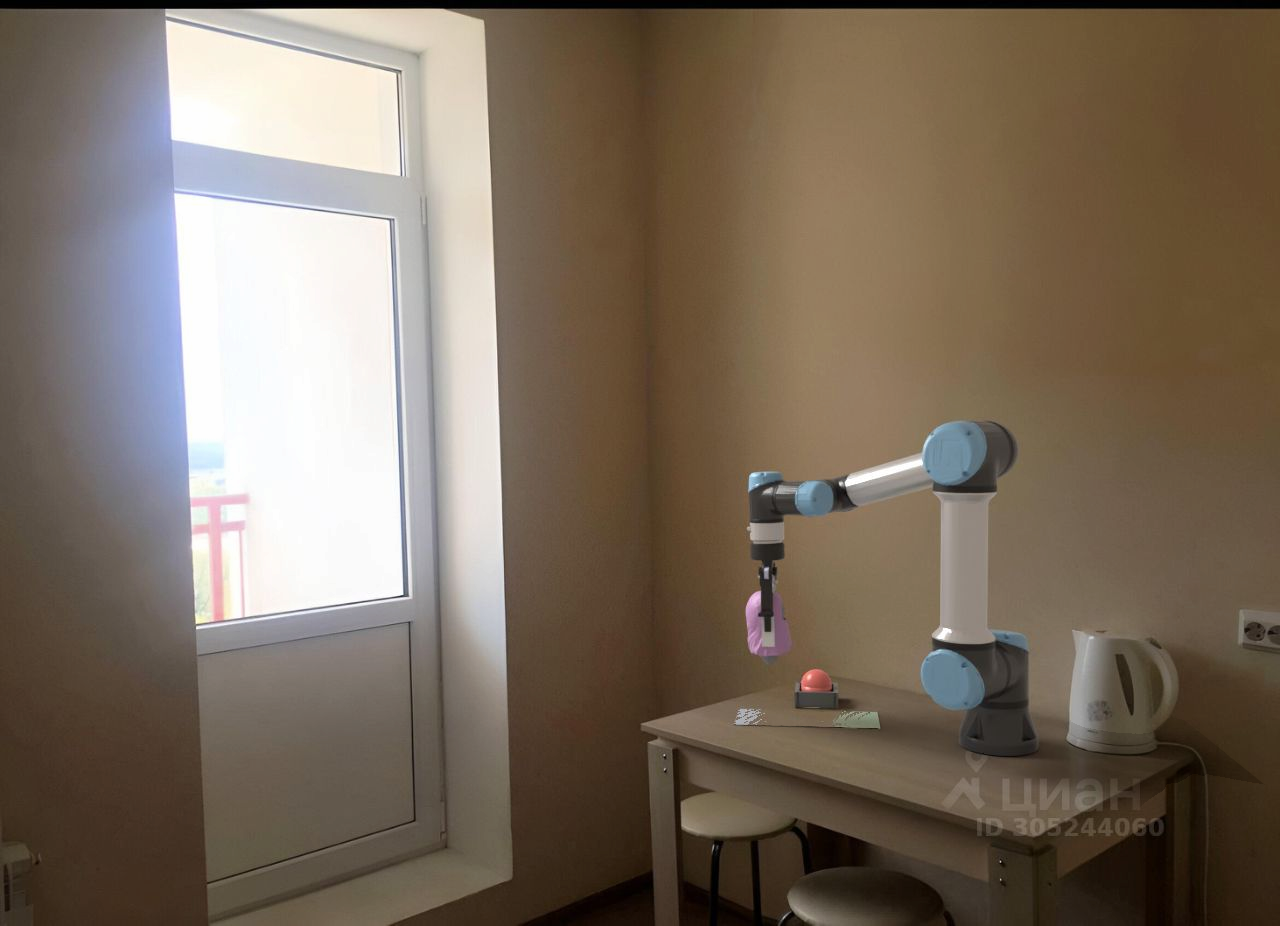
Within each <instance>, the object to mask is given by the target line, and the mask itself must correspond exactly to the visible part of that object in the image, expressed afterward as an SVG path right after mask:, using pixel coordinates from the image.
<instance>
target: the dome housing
mask: <svg viewBox="0 0 1280 926" xmlns="http://www.w3.org/2000/svg"><path fill="white" fill-rule="evenodd" d="M831 683H832V692H819V691H801V681H795V686H794V708H795V707H819V708H838V709H839V687H838V686H839V685H838V682H831Z"/></svg>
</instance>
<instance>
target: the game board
mask: <svg viewBox="0 0 1280 926" xmlns="http://www.w3.org/2000/svg"><path fill="white" fill-rule="evenodd" d="M739 709H740V710H739ZM739 709H738V711H740V712H738V711H737V714H739V713H741V714H739V715H737V714H736V718H737V717H742V718H740V719H738V720H736V718H735V721H734V724H736V725H735V726H742V725H748V724H749V722H750V721H753V720H754V719H756V718H757V717H758V716H757V715H756V714H759V713H761V712H759V711H758V710H761V709H762V708H760V709H759V708H757V709H758V710H756V711H758V712H756V711H751V710H754V709H755V708H739ZM747 709H749V710H747ZM747 711H750V712H748V713H745V712H747ZM846 711H847V710H846ZM846 711H844V712H846ZM755 712H756V713H755ZM854 712H855V711H852V712H850V713H849V714H848V713H847V714H846V715H845V714H844V715H843V716H842V717H841V715H840V716H839V718H838V719H837V720H836V721H835V719H836V718H835V719H834V720H833V722H834V721H835V722H834V723H833V724H835V723H841V724H842V725H841V726H839V725H837V726H836V725H835V726H836V727H846V728H845V729H848V728H847V727H848V726H849V727H851V728H850V729H857V728H878V729H877V730H881V724H880V719H879V714H878V713H879V712H878V711H858V712H859V714H857V713H856V715H855V716H854V714H853V716H852V717H851V718H850V716H849V718H848V719H847V720H846V721H845V718H846V717H847V716H848V715H850V714H852V713H854ZM860 712H862V713H860ZM868 712H870V714H869V713H868ZM752 713H754V714H752ZM842 713H843V712H842ZM866 713H868V714H867V715H866ZM745 714H748V715H746V716H744V715H745ZM763 714H765V713H763ZM864 714H865V715H864ZM754 715H755V716H754ZM761 715H762V714H761ZM862 715H864V716H863V717H862ZM743 716H744V717H743ZM750 716H753V717H751V718H749V719H747V717H750ZM759 716H760V715H759ZM860 716H861V717H860ZM859 717H860V719H859V720H858V718H859ZM745 719H747V720H745ZM760 720H762V719H760ZM760 720H759V721H760ZM746 721H748V722H746ZM759 721H757V722H755V723H753V724H756V723H758V722H759ZM735 722H736V723H735ZM744 722H746V723H744ZM765 722H766V721H765ZM822 722H823V721H822ZM845 723H846V725H847V726H846V725H844V724H845ZM858 723H859V724H858ZM734 724H733V725H734ZM756 725H757V724H756Z"/></svg>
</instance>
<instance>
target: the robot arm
mask: <svg viewBox="0 0 1280 926" xmlns="http://www.w3.org/2000/svg"><path fill="white" fill-rule="evenodd" d="M1018 457H1019V443H1018V440H1017V438H1016V437H1015V434H1014V433H1013V432H1012V431H1011V430H1010V428H1008V427H1007V426H1006V425H1004V424H1002V423H1000V422H997V421H993V420H953V421H950V422H946V423H943V424H942V425H939V426H937V427H936V428H934V430H933V431H931V433H930V434H928V436H927V438H926V439H925V441H924V444H923V447H922V452H918V453H916V454H912V455H908V456H907V457H906V456H905V457H901V458H899V459H895V460H892V461H889V462H885V463H883V464H882V463H881V464H879V465H875V466H872V467H868V468H865V469H862V470H859V471H854V472H852V473H848V474H845V475H840V476H839V477H838V476H837V477H834V478H828V479H824V478H823V479H811V480H791V481H790V480H789V481H788V480H784V478H783V473H782V471H781V472H780V471H757V472H756V471H755V472H752V473H750V475H749V476H748V477H749V478H748V490H747V495H748V506H749V526H747V527H746V531H749V539H750V540H751V541H752V542H751V543H750V545H749V549H750V559H751V560H753V561H760V562H761V566H758V576H759V577H760V578H759V587H760V591H761V613H758V617H761V623H762V647H775V632H774V616H773V615H774V613H773V591H772V575H774V576H775V580H778V579H777V576H778V567H777V566H776V563H775V562H774V561H780V560H784V558H785V557H786V556H785V555H786V554H785V543H784V542H783V541H784V540H785V521H784V520H785V519H784V518H785V517H784V516H797V517H798V516H799V517H807V518H813V517H815V518H816V517H825V516H826V515H827V514H830V513H845V512H850V511H853V510H856V509H857V508H859V507H863V506H867V505H871V504H875V503H877V502H881V501H885V500H889V499H892V498H897V497H900V496H903V495H909V494H911V493H916V492H919V491H923V490H926V489H931V488H932V493H933V495H935V496H936V497H937V498H938V499H939V501H940V581H939V582H940V586H939V587H940V590H939V592H940V594H939V595H940V596H939V597H940V599H939V601H940V604H939V606H940V607H939V609H940V610H939V612H940V615H939V618H940V619H939V624H940V625H939V626H938V628H936V630H934V631H933V632H932V634H931V652H930V653H929V654H928V655H927V656H926V657H925V658H924V660H923V662H922V663H921V667H920V680H921V683H922V686H923V688H924V690H925V692H926V694H927V695H929V697H930V698H931V699H932V701H933V702H934V703H936V704H937V705H939V706H940V707H942V708H944V709H946V710H950V711H964V710H965V711H964V714H963V718H962V720H961V723H960V727H959V729H958V744H959V746H960V747H962V748H964V749H966V750H969V751H972V752H973V753H979V754H983V753H984V754H983V755H991V756H1002V757H1014V756H1015V757H1019V756H1025V755H1026V756H1027V755H1030V754H1033V753H1035V752H1037V751H1038V750H1039V749H1040V745H1039V743H1040V742H1039V741H1040V740H1039V734H1038V730H1037V728H1036V725H1035V723H1034V720H1033V717H1032V714H1031V711H1030V705H1029V704H1030V703H1029V686H1030V685H1029V683H1030V681H1029V680H1030V679H1029V678H1030V677H1029V670H1030V669H1029V654H1030V650H1029V645H1028V642H1029V640H1028V638H1027V636H1026V635H1024V634H1023V633H1022V632H1016V631H1011V630H1002V629H994V628H993V629H992V628H988V601H989V600H988V596H989V595H988V593H989V592H988V589H989V587H988V585H989V584H988V583H989V582H988V581H989V580H988V579H989V577H988V575H989V573H988V572H989V571H988V570H989V502H990V501H991V499H993V498H994V497H995V496H996V495H997V493H998V479H1000V478H1003V477H1004V476H1006V475H1007V474H1009V473H1010V472H1011V471H1012V470H1013V468H1014V467H1015V465H1016V463H1017V461H1018ZM775 592H776V593H777V591H775ZM765 609H770V610H765Z"/></svg>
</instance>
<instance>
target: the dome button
mask: <svg viewBox="0 0 1280 926" xmlns="http://www.w3.org/2000/svg"><path fill="white" fill-rule="evenodd" d="M800 682H801V691H819V692H832V683H833V682H832V680H831V677H830V676H829V675H828V673H827V672H826V671H824V670H822V669H819V668H818V669H817V668H816V669H810V670H808V671H807V672H805V674H804V675H803V676H802V679H801V681H800Z"/></svg>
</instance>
